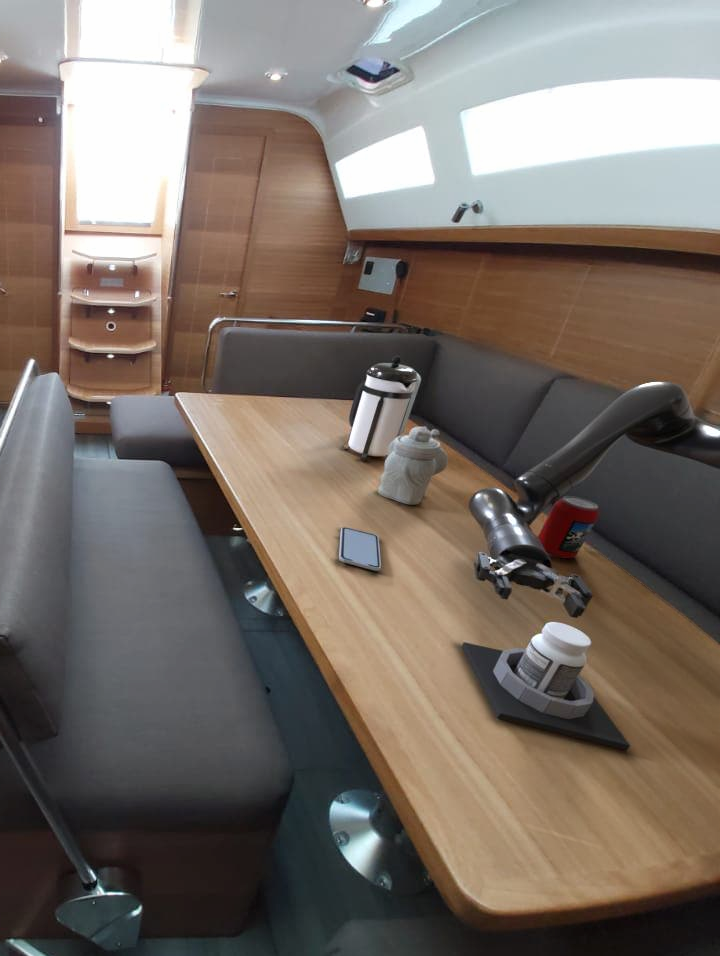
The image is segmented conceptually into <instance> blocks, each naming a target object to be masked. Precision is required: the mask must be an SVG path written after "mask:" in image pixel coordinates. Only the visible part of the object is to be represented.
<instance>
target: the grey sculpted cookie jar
mask: <svg viewBox="0 0 720 956" xmlns="http://www.w3.org/2000/svg"><path fill="white" fill-rule="evenodd" d="M439 435H440V431H439V430H438V429H435V428H433V429H432V430H431V431H430V430H429V429H428V427H427V426H415V427H413V428H411V429H410V431H409V433H408V434H401V435H400V436H398V437H397V438H396V439H394V440H393V441H392V442H391V444H390V445H389V447H388V457H387V456H386V459H385V461H384V471H383V472H382V475H381V478H380V485H379V487H378V488H379V489H378V494H379V495H380V496H382V497H384V498H388V499H391V500H393V501H397V502H399V503H402V504H405V505H410V506H414V505H419V504H420V503H421V502H422V499H423V497H424V496H425V494H426V491H427V488H428V487H429V485H430V483H431V482H430V481H431V479H432V477H434V476H435V475H438V474H440V473H442V472H444V471H445V469H446V468H447V464H448V454H447V452H446V451H445V450H444V448H442V447H441V445H442V444H441V442H440V441H438V440H436V439H435V438H436V437H437V436H439Z"/></svg>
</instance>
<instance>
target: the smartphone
mask: <svg viewBox="0 0 720 956" xmlns="http://www.w3.org/2000/svg"><path fill="white" fill-rule="evenodd" d="M339 536H340V537H339V553H338V559H339V561H340V562H343V563H346V564H348V565H353V566H356V567H360V568H363V569H368V570H371V571H375V572H379V571H380V570H381V568H382V563H381V562H382V561H381V549H380V537H379V535H378V534H375V533H372V532H368V531H364V530H359V529H356V528H351V527H347V526H342V527H341V528H340V535H339Z"/></svg>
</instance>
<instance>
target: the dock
mask: <svg viewBox="0 0 720 956" xmlns="http://www.w3.org/2000/svg"><path fill="white" fill-rule="evenodd" d="M461 648H462V651H463V652H464V655H465V656H466V659H467V660H468V662H469V665H470V666H471V668H472V670H473V673H474V675H475V677H476V678H477V681H478V682H479V685H480V686H481V688H482V691H483V692H484V695H485V697H486V698H487V700H488V702H489V705H490V706H491V708H492V710H493V713H494V714H495V716H496V718H497V719H499V720H503V721H507V722H512V723H516V724H518V725H523V726H527V727H530V728H535V729H540V730H542V731H546V732H551V733H554V734H555V733H556V734H558V735H563V736H567V737H571V738H576V739H578V740H582V741H587V742H590V743H595V744H597V745H602V746H606V747H610V748H614V749H619V750H623V751H628V749H630V746H631V744H630V743H629V742H628V740H627V739H626V737H624V735H623V734H622V732H621V731H620V730H619V728H618V727H617V725H615V723H614V722H613V720H612V719H611V718H610V716H609V714H608V713H607V712H606V711H605V710H604V708H603V706H601V704H600V703H599V701H598V700H597V699H596V697H595V691H594V689H592V687H591V685H590V684H589V683H588V681H587V680H586V679H585V678H584V677H583V675H581V674H579V675H578V677H577V678H576V680H575V681H574V683H573V685H572V686H571V688H570V689H569V691H568V693H567V694H566V696H565V697H564V698H563V699H560V698H556V697H551V696H549V695H547V694H545V693H543V692H541V691H539V690H537V689H535V688H533V687H531V686H529V685H528V684H526V683H525V682H524V681H523V680H521V679H520V678H519V677H518V676H516V675H515V674H514V671H515V669H516V667H517V665H518V663H519V661H520V660H521V658H522V656H523V654H524V652H525V651H526V648H525V649H524V648H521V647H520V648H519V647H515V648H510V649H504V650H502V649H497V648H493V647H488V646H483V645H480V644H475V643H469V642H465V641H464V642H463V643H462V645H461Z"/></svg>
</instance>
